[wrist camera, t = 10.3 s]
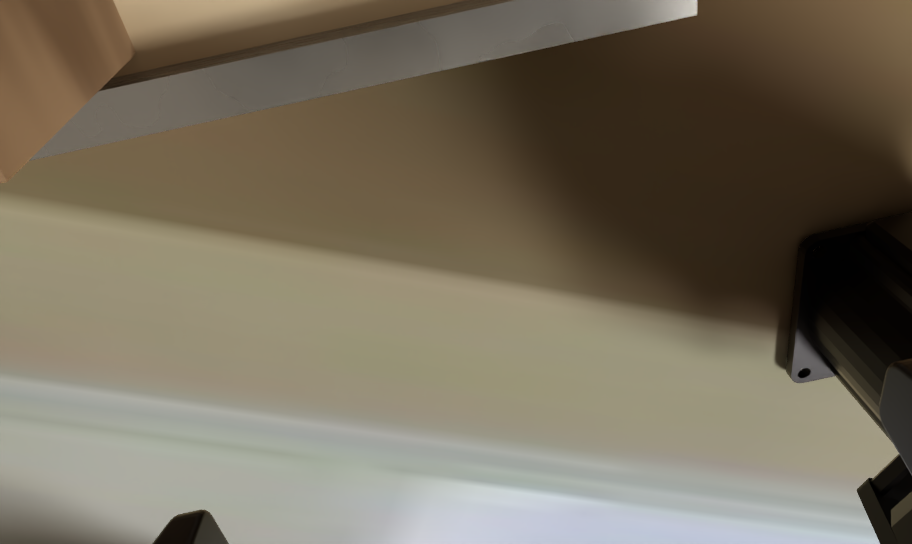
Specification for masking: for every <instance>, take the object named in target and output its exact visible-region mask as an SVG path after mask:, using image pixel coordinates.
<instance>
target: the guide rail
mask: <svg viewBox="0 0 912 544" xmlns="http://www.w3.org/2000/svg"><path fill="white" fill-rule="evenodd" d="M695 15H697V0H466V1H461V2H457V3H452V4H448V5H443V6H438V7H434V8H429V9H425V10H420V11H416V12H411V13H406V14H402V15H397V16H393V17H388V18H384V19H379V20H374V21H370V22H365V23H361V24H356V25H352V26H347V27H342V28H338V29H333V30H329V31H324V32H320V33H315V34H310V35H306V36H301V37H297V38H292V39H288V40H283V41H278V42H274V43H269V44H265V45H260V46H256V47H251V48H246V49H242V50H237V51H233V52H228V53H224V54H219V55H214V56H210V57H205V58H201V59H196V60H192V61H187V62H182V63H178V64H173V65H169V66H164V67H160V68H155V69H150V70H146V71H141V72H137V73H132V74H128V75H123V76H118V77H114V78H111V79H110V80H109V81H108V82H107V83H106V84H105V85H104V86H103V87H102V88H101V89H100V90H99V91H98V92H97V93H96V94H95V95H94V96H93V97H92V98H91V99H90V100H89V101H88V102H87V103H86V104H85V105H84V106H83V107H82V108H81V109H80V110H79V111H78V112H77V113H76V114H75V115H74V116H73V117H72V118H71V119H70V120H69V121H68V122H67V123H66V124H65V125H64V126H63V127H62V128H61V129H60V130H59V131H58V132H57V133H56V134H55V135H54V136H53V137H52V138H51V139H50V140H49V141H48V142H47V143H46V144H45V145H44V146H43V147H42V148H41V149H40V150H39V151H38V152H37V153H36V154H35V155H34V156H33V157H32V158H31V159H30V160H35V159H39V158H44V157H48V156H53V155H58V154H62V153H67V152H71V151H76V150H80V149H85V148H90V147H94V146H99V145H103V144H108V143H113V142H117V141H122V140H126V139H131V138H136V137H140V136H145V135H149V134H154V133H158V132H163V131H168V130H172V129H177V128H181V127H186V126H191V125H195V124H200V123H204V122H209V121H214V120H218V119H223V118H227V117H232V116H236V115H241V114H246V113H250V112H255V111H259V110H264V109H269V108H273V107H278V106H282V105H287V104H292V103H296V102H301V101H305V100H310V99H315V98H319V97H324V96H328V95H333V94H337V93H342V92H347V91H351V90H356V89H360V88H365V87H370V86H374V85H379V84H383V83H388V82H393V81H397V80H402V79H406V78H411V77H415V76H420V75H425V74H429V73H434V72H438V71H443V70H448V69H452V68H457V67H461V66H466V65H471V64H475V63H480V62H484V61H489V60H493V59H498V58H503V57H507V56H512V55H516V54H521V53H526V52H530V51H535V50H539V49H544V48H549V47H553V46H558V45H562V44H567V43H571V42H576V41H581V40H585V39H590V38H594V37H599V36H604V35H608V34H613V33H617V32H622V31H627V30H631V29H636V28H640V27H645V26H649V25H654V24H659V23H663V22H668V21H672V20H677V19H682V18H686V17H691V16H695ZM30 160H29V161H30Z"/></svg>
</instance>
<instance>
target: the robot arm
mask: <svg viewBox="0 0 912 544" xmlns="http://www.w3.org/2000/svg"><path fill="white" fill-rule="evenodd" d="M819 246H820V247H819ZM816 247H819V249H818V250H817V251H815V252H813V250H814V249H815V248H816ZM801 369H802V370H801ZM786 372H787V374H788V375H789V376H790V378H791V379H792V380H793V381H794V382H796V383H804V382H809V381H814V380H819V379H823V378H828V377H833V376H836V377H837V378H838V379H839V380H840V382H841V383H842V384H843V385H844V386H845V387H846V389H847V390H848V391H849V392H850V393H851V394H852V396H853V397H854V398H855V399H856V400H857V402H858V403H859V404H860V405H861V406H862V407H863V409H864V410H865V411H866V412H867V413H868V414H869V416H870V417H871V418H872V419H873V420H874V421H875V423H876V424H877V425H878V426H879V427H880V428H881V430H882V431H883V432H884V433H885V434H886V436H887V437H888V438H889V439H890V440H891V441H892V443H893V444H894V445H895V447H896V449H897V451H898V452H899V454H898V455H897V456H896V457H895V458H894V459H893V460H892V461H891V462H890V463H889V464H888V465H887V466H886V467H885V468H884V469H883V470H882V471H880V472H879V473H878V474H877V475H876V476H875V477H874V478H873V479H872V478H868V479H867V480H866V481H865V482H864V483H863V484H862V485H861V486H860V487H859V488H858V489H857V493H858V495H859V497H860V499H861V501H862V504H863V506H864V508H865V510H866V513H867V515H868V517H869V519H870V522H871V524H872V526H873V528H874V531H875V533H876V535H877V537H878V540H879V542H880V544H912V212H910V213H906V214H901V215H896V216H892V217H887V218H882V219H878V220H874V221H872V222H867V223H863V224H858V225H853V226H849V227H844V228H839V229H835V230H830V231H826V232H821V233H816V234H813V235H810V236H808V237H807V238H806V239H804V240H803V242H802V243H801V244H800V247H799V252H798V261H797V270H796V280H795V289H794V298H793V308H792V317H791V327H790V336H789V345H788V355H787V364H786ZM153 544H229V543H228V542H227V540H226V538H225V537H224V535H223V533H222V532H221V530H220V528H219V527H218V525H217V523H216V522H215V520H214V518H213V517H212V515H211V514H210V513H209V512H208V511H206V510H197V511H193V512H188V513H183V514H179V515H177V516H175V517H174V518H173V519H171V520H170V522H169V523H168V524H167V525H166V527H165V528H164V529H163V531H162V532H161V533H160V534H159V536H158V537H157V538H156V540H155V541H154V542H153Z"/></svg>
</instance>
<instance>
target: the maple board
mask: <svg viewBox="0 0 912 544" xmlns="http://www.w3.org/2000/svg"><path fill="white" fill-rule="evenodd" d="M113 1H114V3H115V6H116V8H117V10H118V12H119V15H120V17H121V19H122V21H123V24H124V26H125V28H126V31H127V33H128V35H129V37H130V40H131V42H132V44H133V47H134V49H135V51H136V54H135V55H134V56H133V57H132V58H131V59H130V60H129V61H128V62H127V63H126V64H125V65H124V66H123V67H122V68H121V69H120V70H119V71H118V72H117V73H116V74H115V75H114V76H113V77H112V78H114V77H118V76H123V75H128V74H132V73H137V72H141V71H146V70H150V69H155V68H160V67H164V66H169V65H173V64H178V63H182V62H187V61H192V60H196V59H201V58H205V57H210V56H214V55H219V54H224V53H228V52H233V51H237V50H242V49H246V48H251V47H256V46H260V45H265V44H269V43H274V42H278V41H283V40H288V39H292V38H297V37H301V36H306V35H310V34H315V33H320V32H324V31H329V30H333V29H338V28H342V27H347V26H352V25H356V24H361V23H365V22H370V21H374V20H379V19H384V18H388V17H393V16H397V15H402V14H406V13H411V12H416V11H420V10H425V9H429V8H434V7H438V6H443V5H448V4H452V3H457V2H461V1H466V0H113Z"/></svg>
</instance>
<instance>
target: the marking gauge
mask: <svg viewBox="0 0 912 544" xmlns="http://www.w3.org/2000/svg"><path fill="white" fill-rule="evenodd" d="M135 54H136V51H135V49H134V47H133V44H132V42H131V40H130V37H129V35H128V33H127V31H126V28H125V26H124V24H123V21H122V19H121V17H120V15H119V12H118V10H117V8H116V6H115V3H114V1H113V0H0V183H4V182H8V181H9V180H10V179H11V178H12V177H13V176H14V175H15V174H16V173H17V172H18V171H19V170H20V169H21V168H22V167H23V166H24V165H25V164H26V163H27V162H28V161H29V160H30V159H31V158H32V157H33V156H34V155H35V154H36V153H37V152H38V151H39V150H40V149H41V148H42V147H43V146H44V145H45V144H46V143H47V142H48V141H49V140H50V139H51V138H52V137H53V136H54V135H55V134H56V133H57V132H58V131H59V130H60V129H61V128H62V127H63V126H64V125H65V124H66V123H67V122H68V121H69V120H70V119H71V118H72V117H73V116H74V115H75V114H76V113H77V112H78V111H79V110H80V109H81V108H82V107H83V106H84V105H85V104H86V103H87V102H88V101H89V100H90V99H91V98H92V97H93V96H94V95H95V94H96V93H97V92H98V91H99V90H100V89H101V88H102V87H103V86H104V85H105V84H106V83H107V82H108V81H109V80H110V79H111V78H112V77H113V76H114V75H115V74H116V73H117V72H118V71H119V70H120V69H121V68H122V67H123V66H124V65H125V64H126V63H127V62H128V61H129V60H130V59H131V58H132V57H133V56H134V55H135Z"/></svg>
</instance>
